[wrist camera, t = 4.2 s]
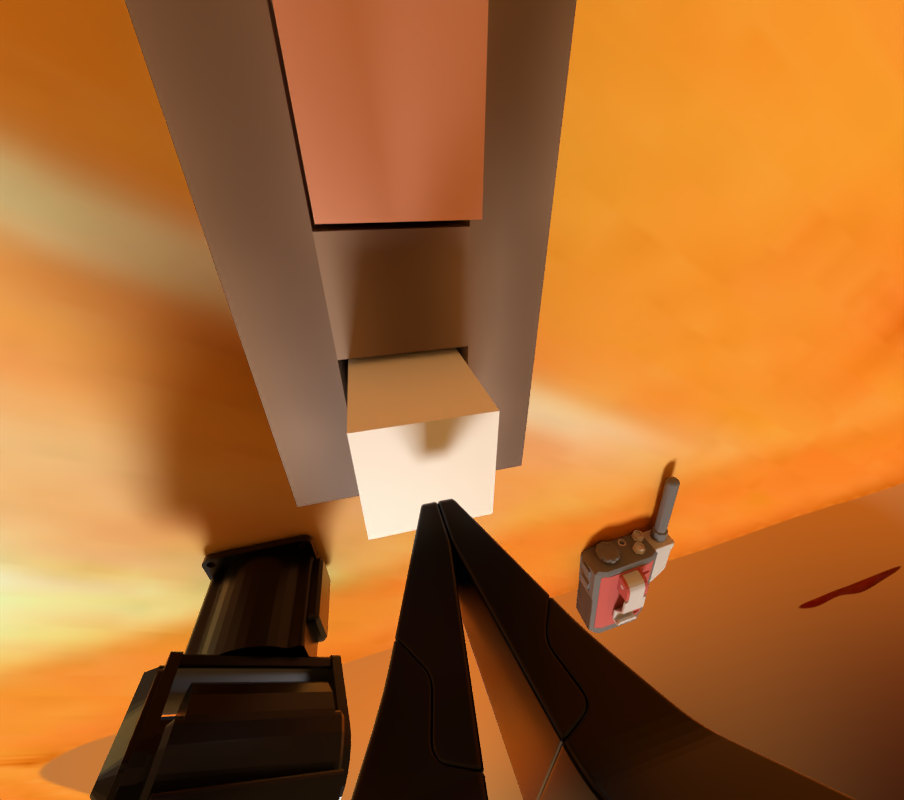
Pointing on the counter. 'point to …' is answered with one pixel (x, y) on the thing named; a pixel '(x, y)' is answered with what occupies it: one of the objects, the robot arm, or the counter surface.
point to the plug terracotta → (388, 106)
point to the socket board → (359, 226)
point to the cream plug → (419, 437)
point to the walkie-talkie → (624, 570)
